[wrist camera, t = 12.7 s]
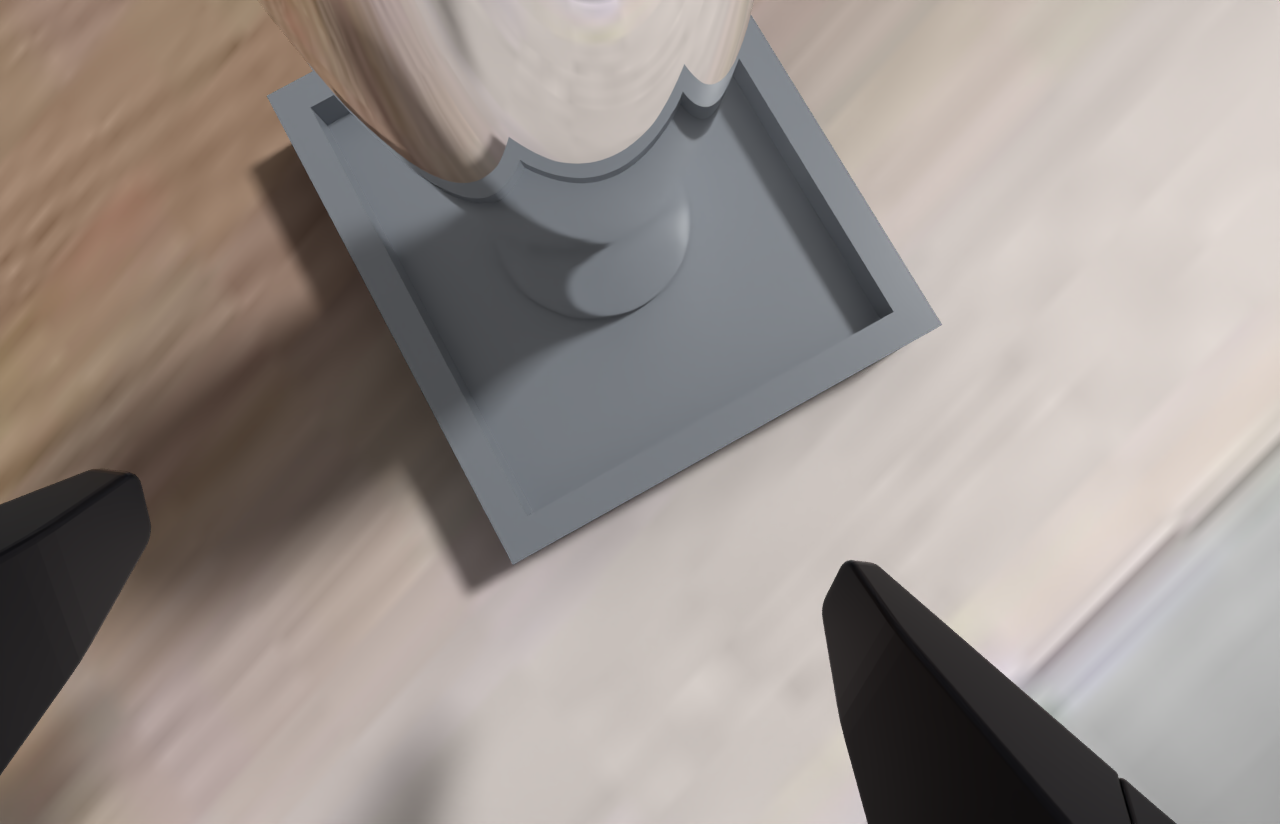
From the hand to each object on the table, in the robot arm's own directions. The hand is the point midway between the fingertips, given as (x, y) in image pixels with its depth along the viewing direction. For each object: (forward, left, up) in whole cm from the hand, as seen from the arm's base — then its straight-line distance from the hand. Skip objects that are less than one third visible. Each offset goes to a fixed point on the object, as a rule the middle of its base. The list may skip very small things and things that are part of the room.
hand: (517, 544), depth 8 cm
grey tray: (+8, -4, -12) cm, 15 cm away
